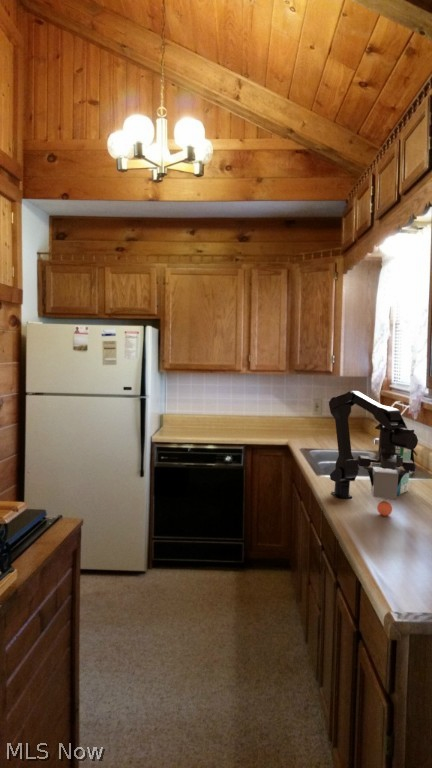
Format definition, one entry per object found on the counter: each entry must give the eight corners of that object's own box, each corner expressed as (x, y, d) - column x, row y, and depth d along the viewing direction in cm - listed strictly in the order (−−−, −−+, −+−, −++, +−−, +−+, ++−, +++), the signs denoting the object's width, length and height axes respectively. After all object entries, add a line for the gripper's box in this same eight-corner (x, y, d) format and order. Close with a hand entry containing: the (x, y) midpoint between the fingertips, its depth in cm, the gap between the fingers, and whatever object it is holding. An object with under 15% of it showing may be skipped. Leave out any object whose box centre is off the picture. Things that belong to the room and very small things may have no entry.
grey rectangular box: (370, 490, 168) (372, 466, 168) (393, 492, 167) (395, 468, 166) (373, 496, 161) (375, 472, 160) (396, 499, 159) (398, 474, 158)
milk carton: (378, 489, 193) (382, 431, 191) (386, 485, 200) (391, 429, 198) (399, 495, 187) (404, 434, 185) (408, 490, 194) (412, 432, 192)
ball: (376, 508, 160) (374, 515, 163) (391, 514, 158) (389, 520, 161) (380, 496, 162) (378, 503, 166) (395, 501, 160) (392, 508, 164)
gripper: (361, 445, 156) (358, 490, 157) (420, 451, 152) (416, 497, 153) (359, 439, 167) (356, 481, 168) (413, 444, 163) (410, 487, 164)
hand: (384, 487), depth 163 cm, fingers closed on grey rectangular box, 8 cm apart
